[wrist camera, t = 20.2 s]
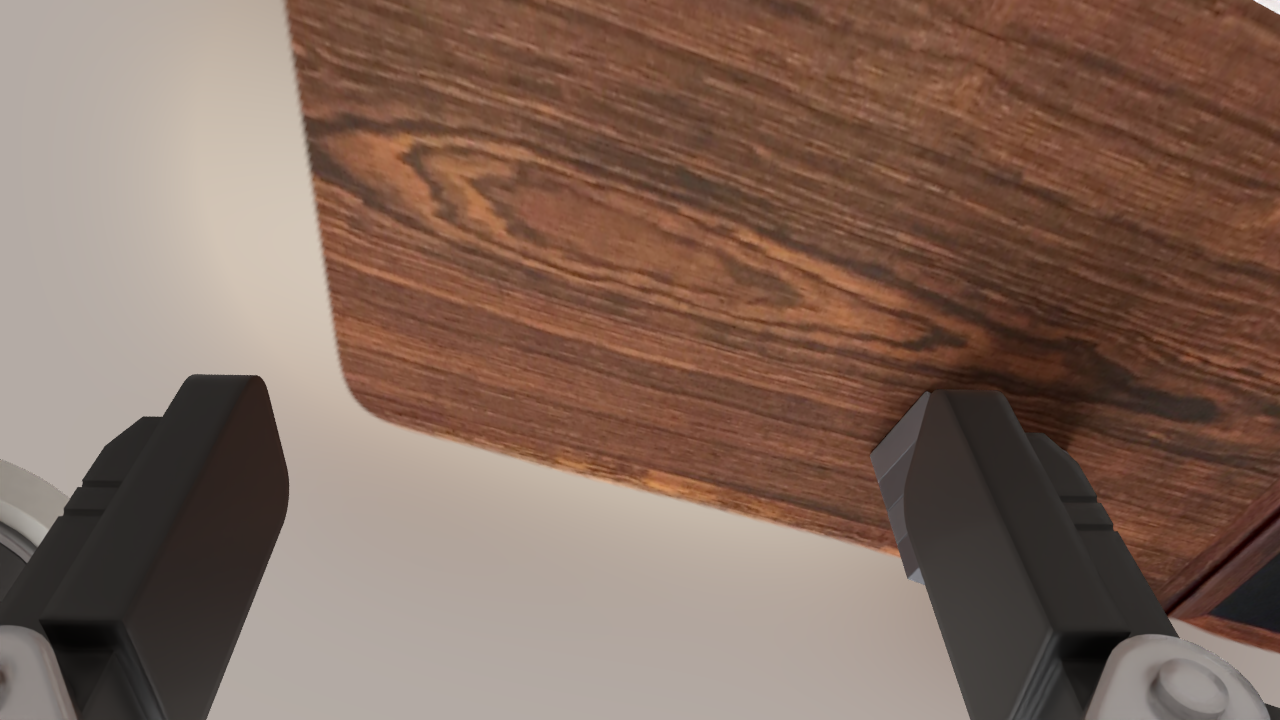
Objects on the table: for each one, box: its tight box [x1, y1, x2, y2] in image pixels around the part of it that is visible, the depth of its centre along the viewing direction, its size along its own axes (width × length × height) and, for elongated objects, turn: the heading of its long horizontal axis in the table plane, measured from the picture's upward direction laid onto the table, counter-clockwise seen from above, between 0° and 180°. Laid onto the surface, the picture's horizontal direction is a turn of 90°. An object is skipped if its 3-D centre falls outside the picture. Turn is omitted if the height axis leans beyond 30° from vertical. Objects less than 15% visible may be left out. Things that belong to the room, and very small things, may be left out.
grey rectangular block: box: [870, 391, 1069, 585], centre depth 40 cm, size 8×4×7 cm, turn 63°
